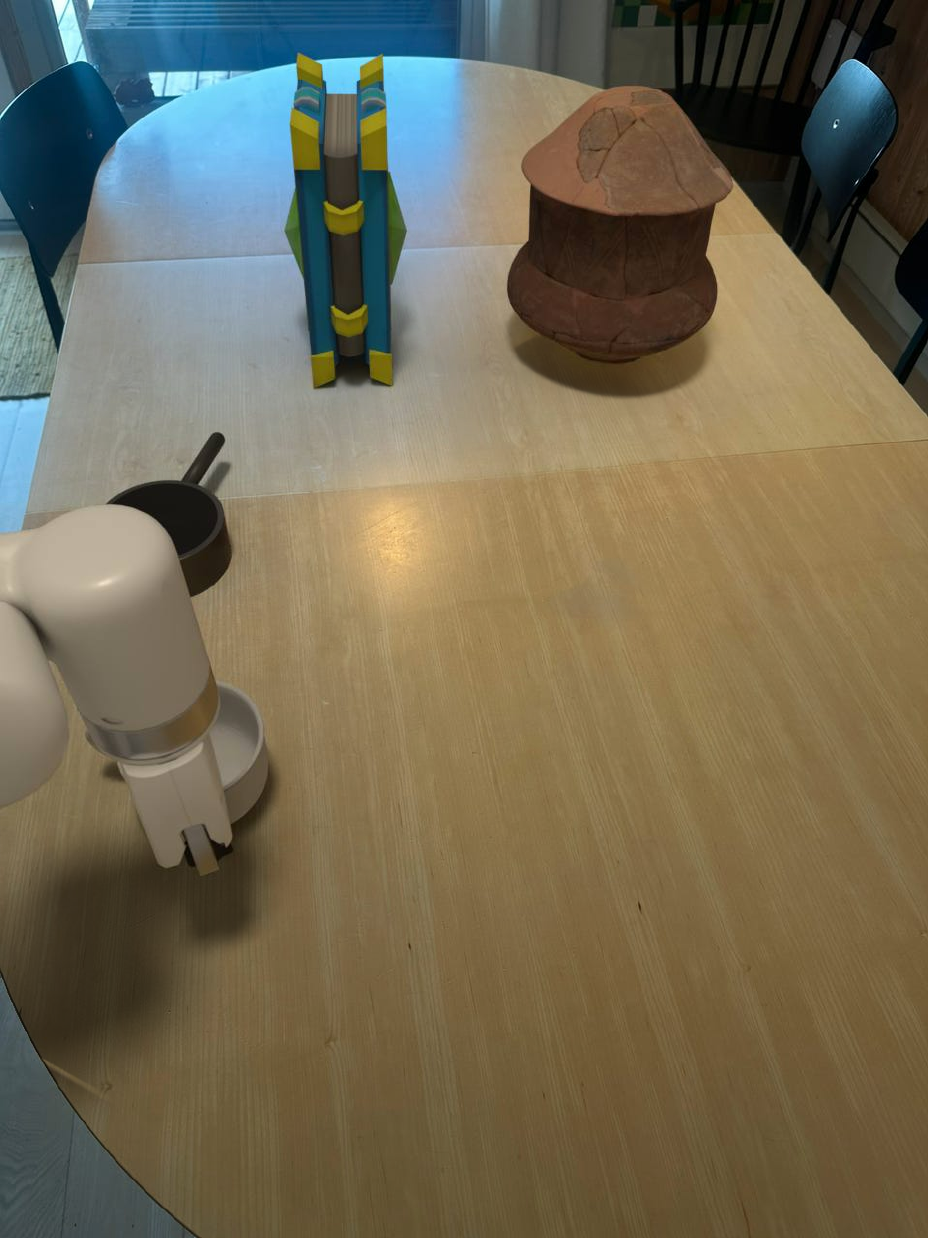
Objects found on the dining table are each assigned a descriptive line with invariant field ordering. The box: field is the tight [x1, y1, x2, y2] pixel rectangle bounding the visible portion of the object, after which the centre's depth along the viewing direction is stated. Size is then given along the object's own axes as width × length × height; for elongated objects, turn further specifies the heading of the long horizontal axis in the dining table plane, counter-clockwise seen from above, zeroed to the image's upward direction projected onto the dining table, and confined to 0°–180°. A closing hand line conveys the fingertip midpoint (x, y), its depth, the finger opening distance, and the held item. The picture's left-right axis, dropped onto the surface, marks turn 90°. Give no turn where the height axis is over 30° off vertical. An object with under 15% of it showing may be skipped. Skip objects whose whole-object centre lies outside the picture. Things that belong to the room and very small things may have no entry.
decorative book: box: [283, 52, 408, 389], centre depth 112 cm, size 14×23×30 cm, turn 4°
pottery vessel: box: [506, 85, 734, 365], centre depth 113 cm, size 26×26×30 cm
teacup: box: [84, 679, 269, 825], centre depth 75 cm, size 14×11×8 cm
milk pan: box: [105, 431, 232, 598], centre depth 96 cm, size 12×21×5 cm, turn 168°
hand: (209, 851), depth 69 cm, fingers closed
